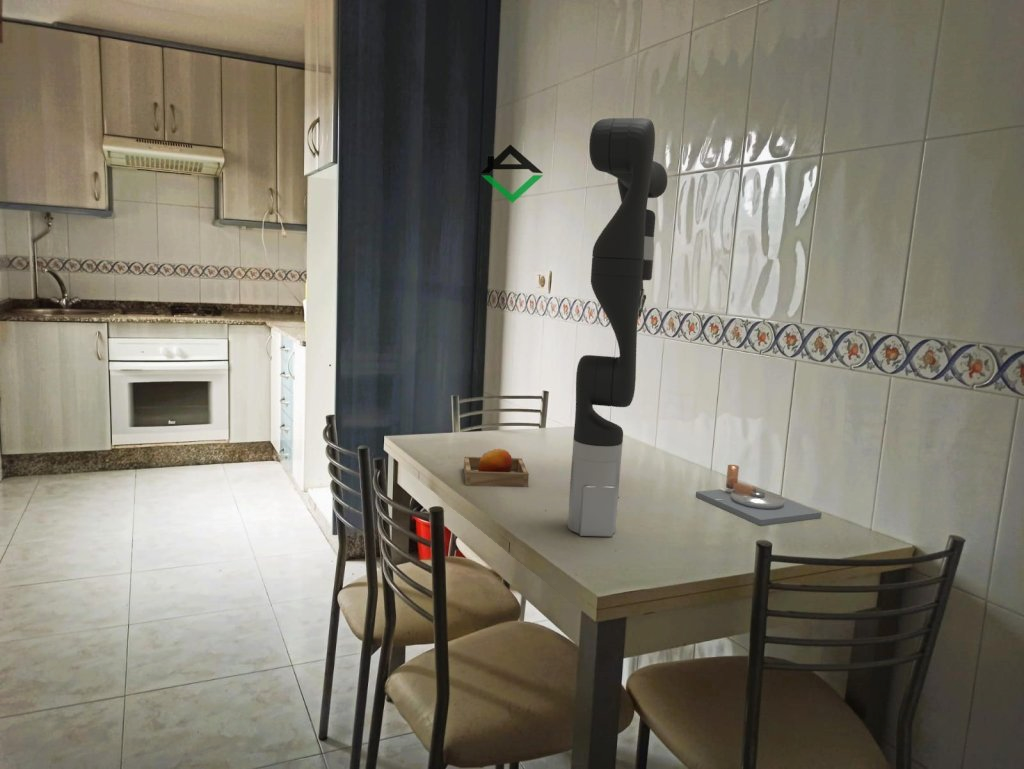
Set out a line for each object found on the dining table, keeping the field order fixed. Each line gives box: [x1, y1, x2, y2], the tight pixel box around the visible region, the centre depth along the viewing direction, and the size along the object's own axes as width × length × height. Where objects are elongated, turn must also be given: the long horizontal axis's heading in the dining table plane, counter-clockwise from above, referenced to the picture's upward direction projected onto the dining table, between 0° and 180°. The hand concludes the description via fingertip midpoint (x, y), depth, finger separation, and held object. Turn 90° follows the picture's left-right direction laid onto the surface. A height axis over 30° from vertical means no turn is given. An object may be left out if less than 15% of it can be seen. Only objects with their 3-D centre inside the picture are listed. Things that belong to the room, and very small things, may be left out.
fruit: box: [477, 448, 513, 472], centre depth 174 cm, size 8×8×8 cm
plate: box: [695, 485, 822, 527], centre depth 163 cm, size 20×17×2 cm
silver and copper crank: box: [725, 464, 785, 509], centre depth 163 cm, size 14×11×6 cm
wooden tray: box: [463, 456, 530, 488], centre depth 174 cm, size 14×14×3 cm
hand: (629, 336), depth 166 cm, fingers closed
